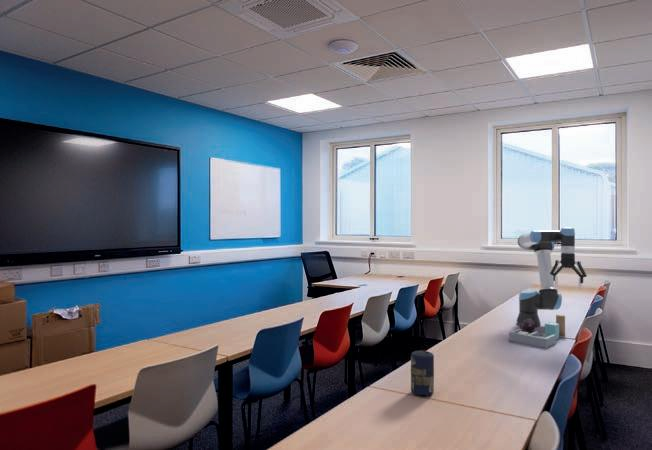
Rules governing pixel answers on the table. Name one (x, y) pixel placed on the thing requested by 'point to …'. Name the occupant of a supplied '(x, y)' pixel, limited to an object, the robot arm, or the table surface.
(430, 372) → the canister
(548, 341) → the lane rack
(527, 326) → the rock
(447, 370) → the table surface
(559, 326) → the block
